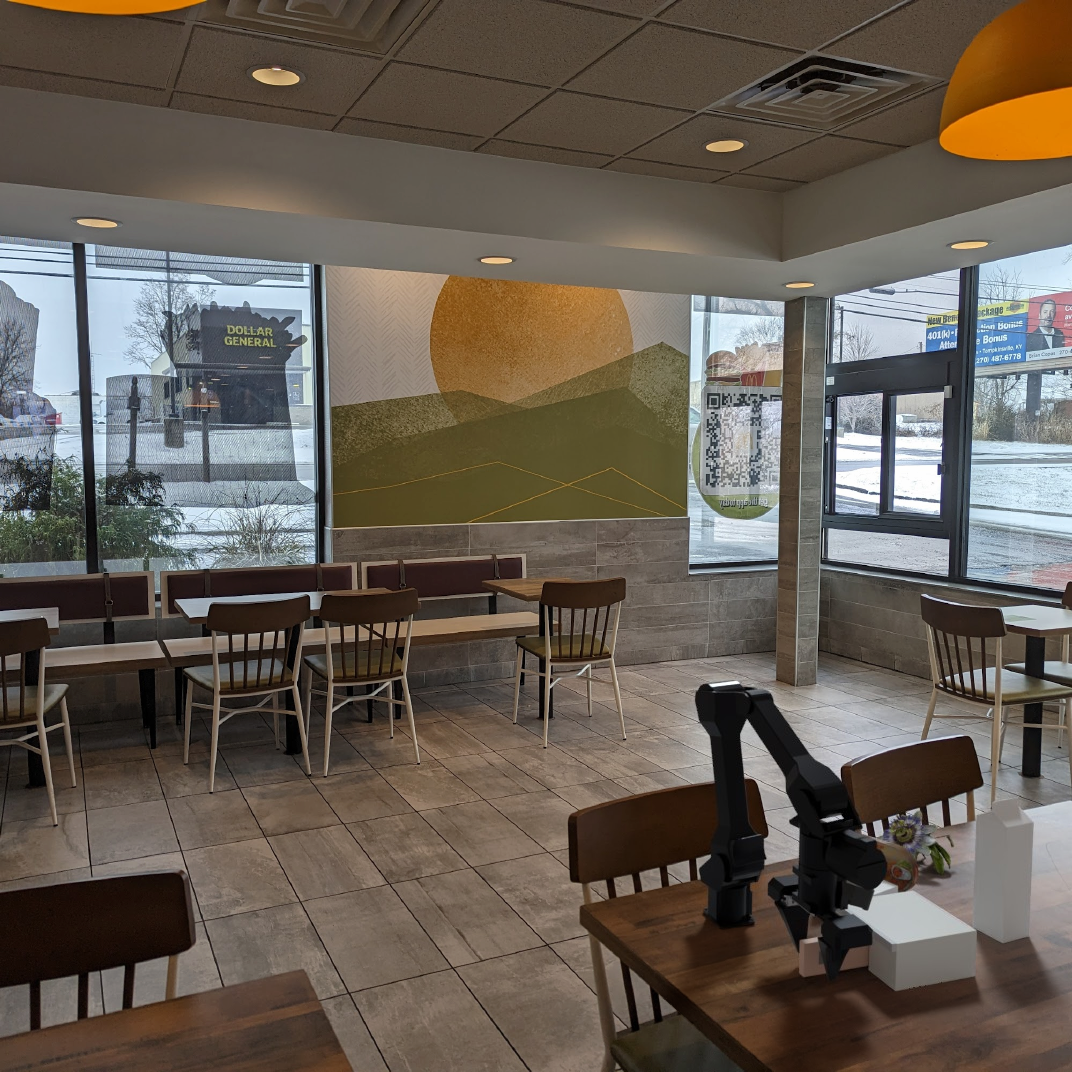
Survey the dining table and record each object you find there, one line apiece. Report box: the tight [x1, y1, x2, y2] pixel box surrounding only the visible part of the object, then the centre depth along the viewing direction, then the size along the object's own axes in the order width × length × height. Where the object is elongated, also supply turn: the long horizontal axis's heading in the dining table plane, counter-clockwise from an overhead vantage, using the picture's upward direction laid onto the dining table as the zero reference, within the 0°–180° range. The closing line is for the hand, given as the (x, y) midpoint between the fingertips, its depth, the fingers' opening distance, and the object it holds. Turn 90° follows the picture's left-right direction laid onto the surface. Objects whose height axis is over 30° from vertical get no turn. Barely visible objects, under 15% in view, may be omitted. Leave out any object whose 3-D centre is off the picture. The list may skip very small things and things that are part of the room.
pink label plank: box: [798, 936, 869, 978], centre depth 144 cm, size 22×1×5 cm, turn 107°
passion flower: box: [876, 810, 955, 875], centre depth 182 cm, size 11×11×12 cm
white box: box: [836, 890, 978, 992], centre depth 146 cm, size 15×14×7 cm
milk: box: [971, 796, 1034, 944], centre depth 154 cm, size 6×6×22 cm
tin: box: [860, 833, 919, 893], centre depth 172 cm, size 15×3×8 cm, turn 41°
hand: (816, 965), depth 141 cm, fingers open, 8 cm apart
